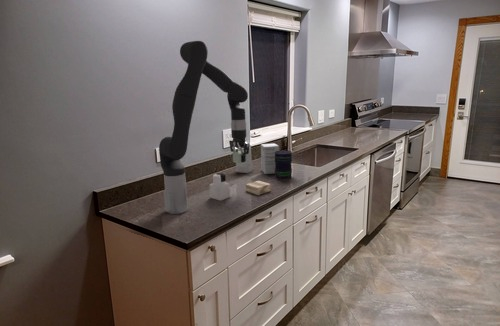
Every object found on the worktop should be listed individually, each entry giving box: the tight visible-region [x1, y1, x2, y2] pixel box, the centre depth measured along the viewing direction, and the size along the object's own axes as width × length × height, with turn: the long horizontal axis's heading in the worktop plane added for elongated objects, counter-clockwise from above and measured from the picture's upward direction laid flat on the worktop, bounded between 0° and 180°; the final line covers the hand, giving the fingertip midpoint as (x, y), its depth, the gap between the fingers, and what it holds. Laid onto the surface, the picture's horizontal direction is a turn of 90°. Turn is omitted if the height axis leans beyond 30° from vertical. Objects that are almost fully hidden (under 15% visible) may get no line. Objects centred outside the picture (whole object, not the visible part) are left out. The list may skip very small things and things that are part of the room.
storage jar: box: [274, 149, 293, 181], centre depth 203 cm, size 10×10×15 cm
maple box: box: [245, 180, 272, 196], centre depth 182 cm, size 9×9×4 cm
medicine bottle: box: [209, 172, 231, 202], centre depth 173 cm, size 7×7×12 cm
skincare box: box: [235, 146, 253, 174], centre depth 217 cm, size 8×7×16 cm
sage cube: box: [232, 151, 247, 164], centre depth 181 cm, size 5×5×5 cm
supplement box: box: [260, 143, 280, 175], centre depth 215 cm, size 10×9×17 cm
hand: (239, 161), depth 181 cm, fingers closed on sage cube, 5 cm apart
